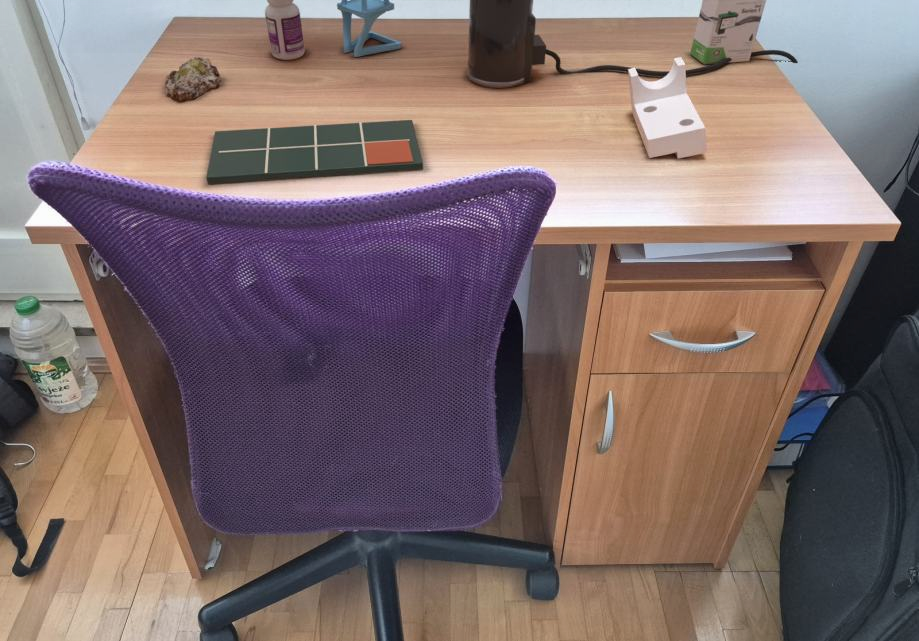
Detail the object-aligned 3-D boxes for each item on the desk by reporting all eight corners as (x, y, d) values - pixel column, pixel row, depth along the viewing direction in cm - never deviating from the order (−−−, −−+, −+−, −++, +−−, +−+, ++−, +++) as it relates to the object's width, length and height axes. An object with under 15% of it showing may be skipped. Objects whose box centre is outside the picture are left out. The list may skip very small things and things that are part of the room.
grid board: (412, 126, 99) (412, 118, 98) (423, 169, 90) (423, 161, 90) (216, 138, 96) (214, 129, 95) (207, 184, 87) (205, 175, 86)
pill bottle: (307, 48, 120) (299, -14, 113) (303, 60, 116) (294, -3, 109) (274, 48, 120) (264, -14, 113) (269, 60, 116) (258, -3, 109)
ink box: (702, 65, 117) (721, -12, 109) (688, 53, 121) (705, -22, 113) (751, 61, 119) (772, -15, 111) (735, 50, 122) (755, -25, 114)
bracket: (632, 119, 104) (627, 69, 99) (683, 108, 103) (680, 56, 98) (649, 164, 94) (645, 111, 89) (705, 152, 93) (704, 98, 88)
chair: (333, 49, 120) (326, -29, 112) (371, 36, 124) (366, -40, 117) (365, 61, 116) (359, -18, 108) (402, 47, 121) (399, -30, 113)
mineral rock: (171, 55, 110) (218, 44, 108) (186, 82, 113) (231, 71, 111) (143, 87, 103) (192, 75, 101) (159, 115, 105) (208, 104, 103)
